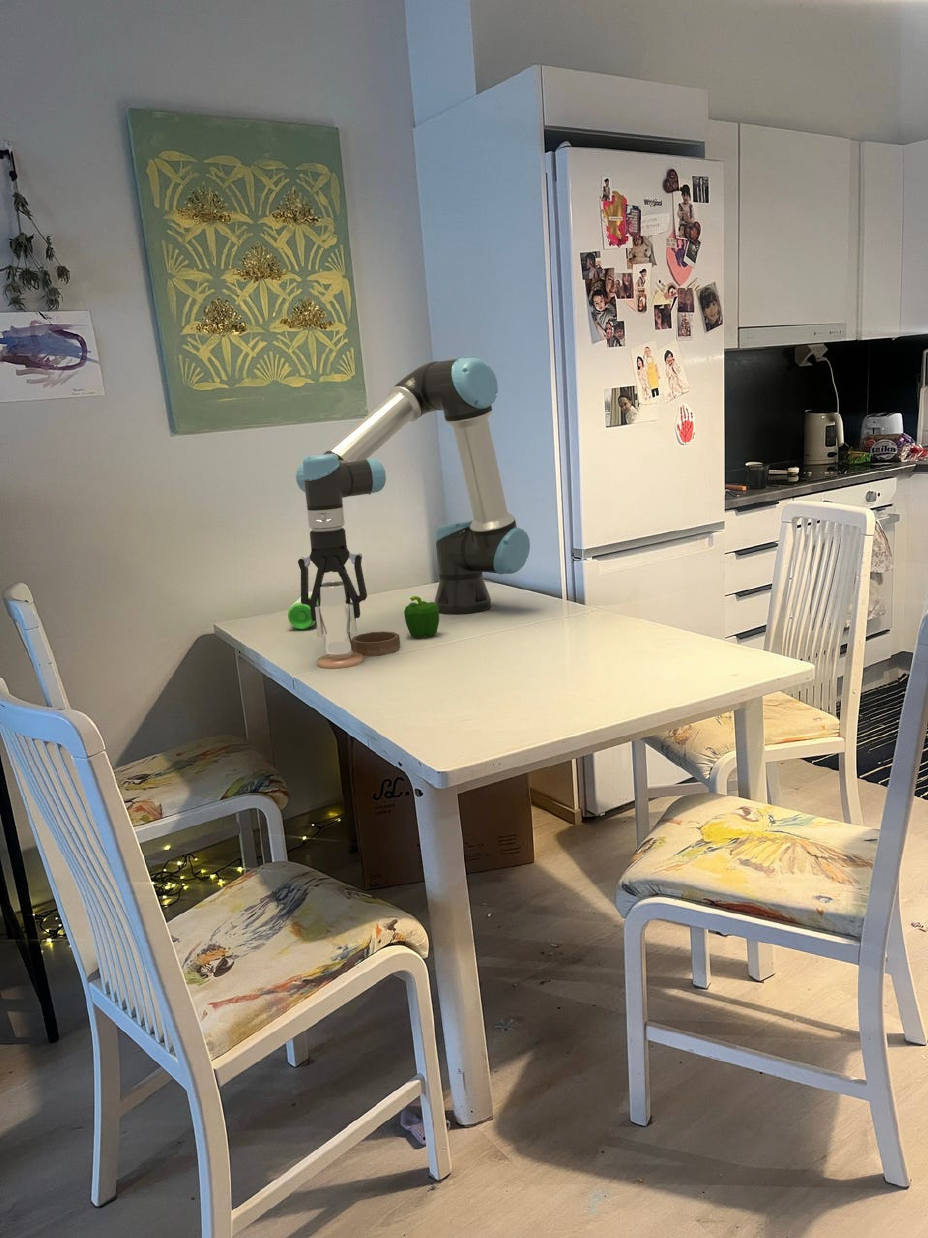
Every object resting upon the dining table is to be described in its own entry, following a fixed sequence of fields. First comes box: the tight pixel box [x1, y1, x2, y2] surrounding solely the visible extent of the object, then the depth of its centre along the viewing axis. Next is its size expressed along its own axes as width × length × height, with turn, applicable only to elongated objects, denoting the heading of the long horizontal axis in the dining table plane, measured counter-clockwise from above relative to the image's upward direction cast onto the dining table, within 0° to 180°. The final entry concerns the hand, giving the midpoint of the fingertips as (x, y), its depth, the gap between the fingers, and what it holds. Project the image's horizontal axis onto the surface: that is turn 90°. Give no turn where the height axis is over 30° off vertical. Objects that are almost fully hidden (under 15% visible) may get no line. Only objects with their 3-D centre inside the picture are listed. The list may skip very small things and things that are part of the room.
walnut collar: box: [351, 631, 401, 657], centre depth 217 cm, size 11×11×3 cm
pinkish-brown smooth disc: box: [316, 652, 364, 670], centre depth 209 cm, size 10×10×1 cm
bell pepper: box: [404, 595, 440, 639], centre depth 227 cm, size 8×8×10 cm
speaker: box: [287, 590, 318, 630], centre depth 250 cm, size 18×7×8 cm, turn 1°
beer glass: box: [318, 580, 353, 655], centre depth 207 cm, size 7×7×15 cm
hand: (337, 633), depth 208 cm, fingers closed on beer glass, 7 cm apart
